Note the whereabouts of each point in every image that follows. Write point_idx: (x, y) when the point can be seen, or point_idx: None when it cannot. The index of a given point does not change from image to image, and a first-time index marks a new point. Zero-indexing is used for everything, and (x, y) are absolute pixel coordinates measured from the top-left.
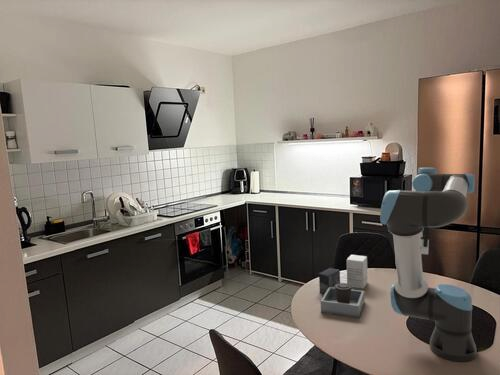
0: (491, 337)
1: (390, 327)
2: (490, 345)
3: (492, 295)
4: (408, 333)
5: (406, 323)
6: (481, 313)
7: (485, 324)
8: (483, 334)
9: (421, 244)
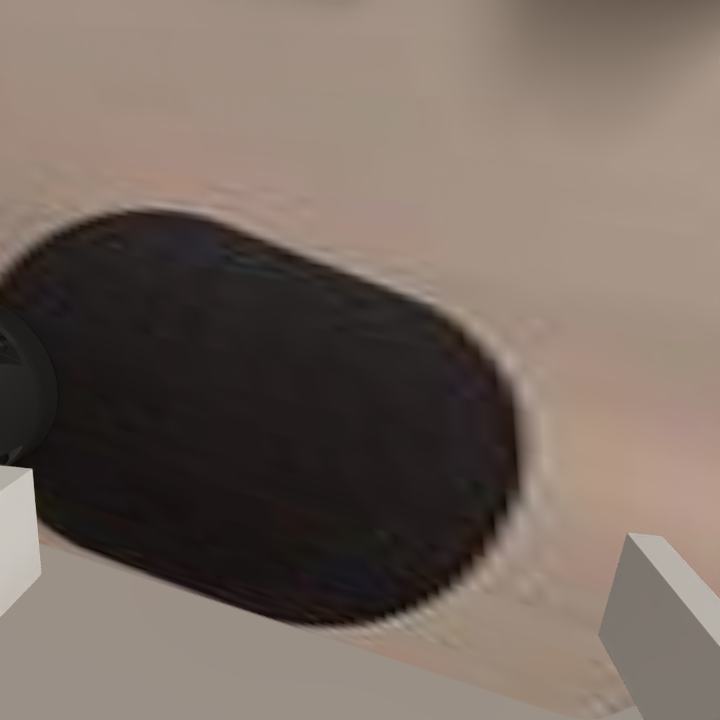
0: (127, 559)
1: (100, 116)
2: (59, 534)
3: (581, 709)
4: (62, 209)
5: (168, 213)
6: (355, 595)
7: (242, 575)
8: (145, 538)
9: (636, 593)
